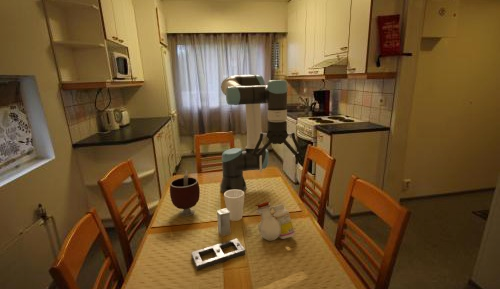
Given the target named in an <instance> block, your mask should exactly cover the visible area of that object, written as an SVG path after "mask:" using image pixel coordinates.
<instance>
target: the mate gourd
mask: <svg viewBox="0 0 500 289" xmlns="http://www.w3.org/2000/svg"><path fill="white" fill-rule="evenodd" d="M188 174H189V172H188V170H187V169H186V170H185V173H184V175H183V177H180V178H179V177H178V178H176V179H173V180H172V181H170V184H169V185H170V186H169V193H170V194H169V196H170V201H171V203H172V205H173V206H174V207H175V208H177V209H178V210H179V209H180V210H181V211H179V212H178V214H179V216H180V217H185V218H186V217H190V216H192V215H194V214H195V211H196V210H192V209H191V208H194V207H195V206H196V205H197V203H198V202H199V200H200V195H201V194H200V193H201V191H200V190H201V189H200V185H199V180H198V179H197V177H192V176H189V175H188Z"/></svg>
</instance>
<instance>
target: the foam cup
mask: <svg viewBox="0 0 500 289" xmlns="http://www.w3.org/2000/svg"><path fill="white" fill-rule="evenodd" d="M245 198H246V197H245V191H242V190H237V189H233V190H228V191H226V192H225V193H224V192H223V200H224V203H225V208H227V210H228V211H229V212H230V222H231V221H232V222H236V221H240V220H242V219H243V213H244V205H245V204H244V202H245Z"/></svg>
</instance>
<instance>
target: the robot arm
mask: <svg viewBox="0 0 500 289" xmlns="http://www.w3.org/2000/svg"><path fill="white" fill-rule="evenodd" d="M220 89H221V92H222V94H223V95H224V96H225V100H226V104H227V105H228V106H239V105H241V106H242V105H243V106H244V105H245V106H244V107H245V123H246V124H245V125H246V140H247V144H246V146H245V147H244V149H245V150H243V149H242V148H240V147H238V148H237V147H234V148H229V149H227V150H224V151H223V152H222V154H221V165H222V166H221V167H222V178H221V181H220V185H219V186H220V191H221V192H222V193H223V194H224V193H225V192H226V191H228V190H233V189H237V190H242V191H243V192H245V191H246V190H247V183H246V180H245V178H244V174H243V173H244V172H248V171H256V170H257V171H259V173H261V174H262V171H263V170H265V169H266V168H267V166H269V162H270V160H269V158H270V156H269V155H270V154H269V149H268V147H269V146H270V145H271V144H272V145H282V144H284V146H285V147H287V149H288V150H290V152H291V153H292V154H293V155H292V172H293V173H294V174H295V173H296V165H298V164H299V157H300V156H303V155H304V154H303V151H302V149H301V147H300V145H299V143H298V141H297V139H296V133H295V132H294V131H292V132H288V129H287V128H288V126H287V125H288V121H287V119H288V116H287V115H288V90H289V89H288V82H287V80H285V79H277V80H275V79H272V80H271V79H270V80H268V81H267V84H266V82H265V80H264V77H263V76H262V75H260V74H238V75H237V74H236V75H235V74H234V75H230V76H228V77H225V79H223V80H222V82H221V85H220ZM261 104H264V105H265V104H267V120H268V121H267V132H263V130H262V113H261V112H262V109H261V108H262V107H261ZM266 137H267V139H268V140H267V141H266V142H265V144H263V140H264V139H265V138H266ZM288 137H289V138H290V139H291V140H292V141H293V143H294V146H295V148H296V149H294V147H293V146H292V145H291V144H290V143H289V141H288V140H287V139H288Z"/></svg>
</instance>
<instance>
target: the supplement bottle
mask: <svg viewBox="0 0 500 289" xmlns="http://www.w3.org/2000/svg"><path fill="white" fill-rule="evenodd" d="M272 210H274V212H273V214H272V217H275V218H276V219H277V220H278V221H279V222H280V224H281V234H280V236H279V237H278V238H280V239H282V240H285V239H288V238H289V239H290V238H291V237H293V236H295V235H296V231H295V228H294V224H293V221H292V219H291V215H290V212H289V210H288V209H286V208H285V204H284V203H279V204H277V205H274V206H272Z"/></svg>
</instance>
